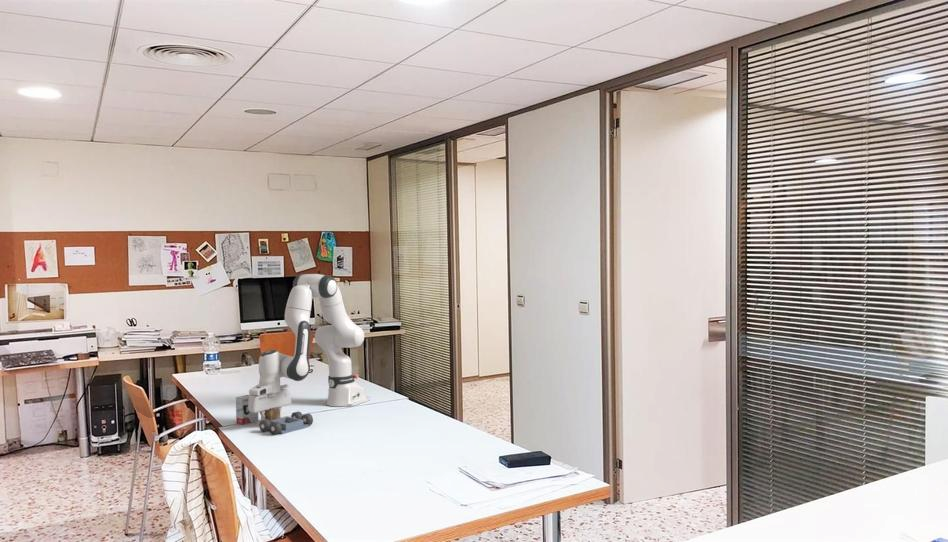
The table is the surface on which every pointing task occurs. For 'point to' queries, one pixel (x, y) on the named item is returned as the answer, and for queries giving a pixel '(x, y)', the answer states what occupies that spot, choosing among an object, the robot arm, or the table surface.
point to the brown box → (272, 414)
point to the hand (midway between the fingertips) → (270, 418)
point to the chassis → (286, 423)
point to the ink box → (244, 411)
